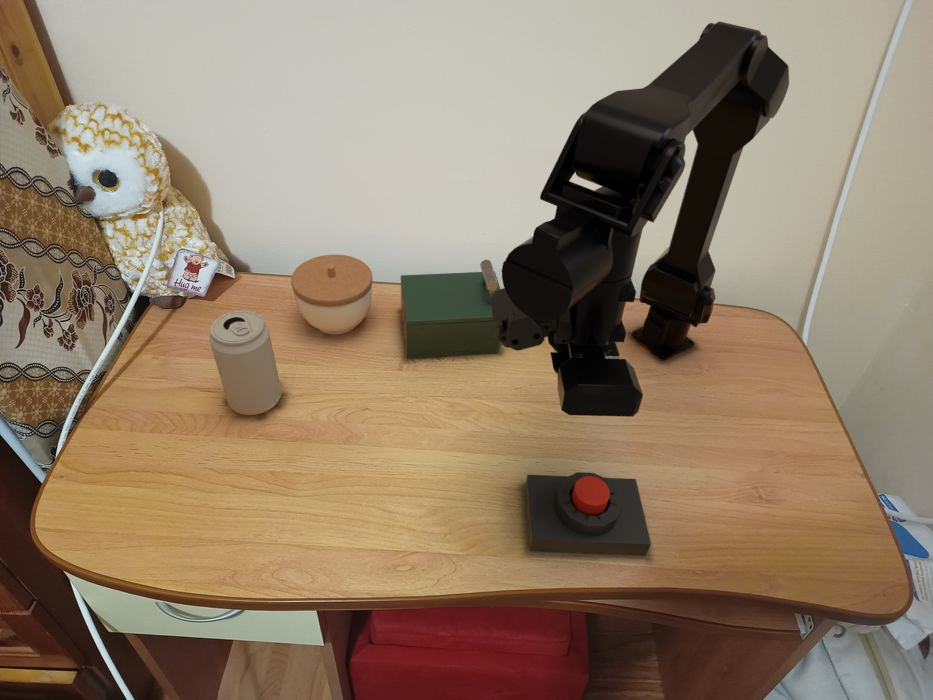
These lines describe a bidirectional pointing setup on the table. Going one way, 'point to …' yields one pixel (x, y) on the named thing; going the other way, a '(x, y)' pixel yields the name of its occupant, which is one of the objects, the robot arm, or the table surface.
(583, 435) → the table surface
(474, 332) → the green box
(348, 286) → the trinket box
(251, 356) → the beverage can
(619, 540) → the panel
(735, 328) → the table surface
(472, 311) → the lid
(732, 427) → the table surface
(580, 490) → the button
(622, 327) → the robot arm
